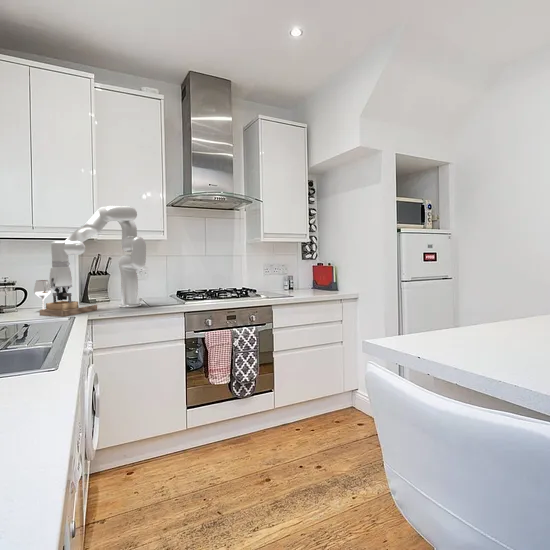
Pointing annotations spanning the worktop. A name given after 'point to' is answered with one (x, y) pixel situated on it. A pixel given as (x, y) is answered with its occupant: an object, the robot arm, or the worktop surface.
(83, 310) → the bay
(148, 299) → the worktop surface
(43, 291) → the wineglass
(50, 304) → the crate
